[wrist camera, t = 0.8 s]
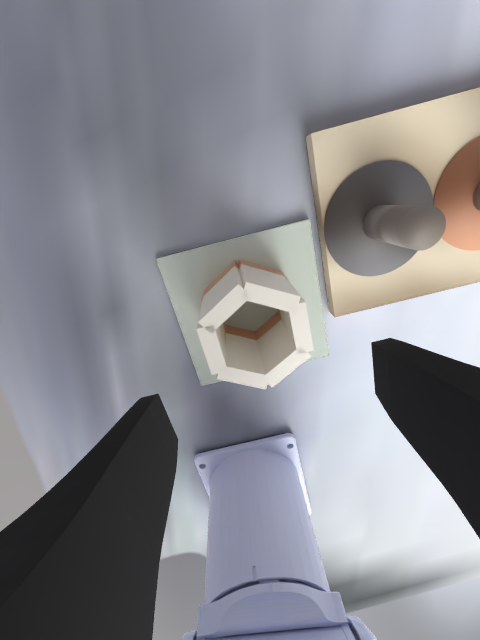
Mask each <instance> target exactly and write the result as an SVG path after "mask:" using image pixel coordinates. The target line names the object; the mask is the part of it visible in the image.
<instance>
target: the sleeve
mask: <svg viewBox="0 0 480 640" xmlns="http://www.w3.org/2000/svg"><path fill="white" fill-rule="evenodd" d="M246 301H249V302H253V303H257V304H261V305H265V306H269V307H273V308H276V309H277V313H276V314H274V315H273V316H272V317H271V318H270V319H269V320H268V321H267V322H265V323H264V324H263V325H262V326H261V327H260V328H259V329H257V330H256V331H255V332H254V331H250V330H246V329H242V328H238V327H233V326H229V325H226V324H225V321H226V320H227V319H228V318H229V317H230V316H231V315H232V314H233V313H234V312H235V311H236V310H237V309H239V308H240V307H241V306H242V305H243V304H244V303H245V302H246ZM201 302H202V304H201V309H200V314H199V318H198V323H197V328H196V330H197V333H198V336H199V339H200V342H201V345H202V348H203V351H204V354H205V357H206V360H207V363H208V366H209V368H210V371H211V374H212V375H214V374H217V379H218V380H223V381H228V382H233V383H237V384H242V385H247V386H251V387H256V388H261V389H265V390H266V387H267V384H268V385H269V386H270V387H272V388H273V387H274V386H275V385H276V384H278V383H279V382H280V381H281V380H283V379H284V378H285V377H286V376H288V375H289V374H290V373H291V372H293V371H294V370H295V369H296V368H298V367H299V366H300V365H301V364H302V363H304V362H305V361H306V360H307V359H309V358H310V357H311V355H310V353H309V351H313V350H314V348H313V342H312V336H311V330H310V324H309V318H308V312H307V306H306V302H305V300H304V299H303V298H302V297H301V295H300V294H299V293H298V292H297V290H296V289H295V288H294V287H293V286H292V284H291V283H290V282H289V281H288V279H287V277H286V276H285V275H284V274H283V273H282V272H281V271H280V270H276V269H273V268H269V267H266V266H262V265H258V264H255V263H251V262H248V261H244V260H241V259H240V260H239V263H238V264H237V263H236V262H235V261H233V262H232V263H231V264H230V265H229V266H228V267H227V268H226V269H225V270H224V271H223V272H222V273H221V274H220V275H219V276H218V277H217V278H216V279H215V280H214V281H213V282H212V283H211V284H210V285H209V286H208V287H207V288H206V289H205V290H204V293H203V297H202V301H201Z"/></svg>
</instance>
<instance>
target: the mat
mask: <svg viewBox="0 0 480 640" xmlns="http://www.w3.org/2000/svg"><path fill="white" fill-rule="evenodd" d="M240 259H241V260H244V261H248V262H251V263H255V264H258V265H262V266H266V267H269V268H273V269H276V270H280V271H281V272H282V273H283V274H284V275H285V276H286V277H287V279H288V281H289V282H290V283H291V284H292V286H293V287H294V288H295V289H296V290H297V292H298V293H299V294H300V295H301V297H302V298H303V299H304V300H305V302H306V306H307V312H308V318H309V324H310V330H311V336H312V342H313V348H314V350H313V351H309V353H310V355H311V357H310V358H309V359H307V360H306V361H309V360H313V359H317V358H321V357H325V356H329V349H328V342H327V335H326V328H325V321H324V314H323V307H322V300H321V293H320V286H319V280H318V273H317V266H316V259H315V252H314V245H313V238H312V231H311V224H310V219H305V220H302V221H298V222H294V223H290V224H286V225H282V226H279V227H275V228H271V229H267V230H263V231H259V232H256V233H252V234H248V235H244V236H240V237H236V238H233V239H229V240H225V241H221V242H217V243H213V244H210V245H206V246H202V247H198V248H194V249H190V250H187V251H183V252H179V253H175V254H171V255H167V256H164V257H160V258H157V259H156V261H157V264H158V267H159V270H160V273H161V275H162V278H163V281H164V284H165V287H166V289H167V292H168V295H169V298H170V300H171V303H172V306H173V309H174V312H175V314H176V317H177V320H178V323H179V326H180V328H181V331H182V334H183V337H184V340H185V342H186V345H187V348H188V351H189V353H190V356H191V359H192V362H193V365H194V367H195V370H196V373H197V376H198V379H199V381H200V384H201V386H204V385H209V384H213V383H217V382H221V381H223V380H218V379H217V374H214V375H212V374H211V371H210V368H209V366H208V363H207V360H206V357H205V354H204V351H203V348H202V345H201V342H200V339H199V336H198V333H197V330H196V328H197V323H198V318H199V314H200V309H201V304H202V302H201V301H202V297H203V293H204V290H205V289H206V288H207V287H208V286H209V285H210V284H211V283H212V282H213V281H214V280H215V279H216V278H217V277H218V276H219V275H220V274H221V273H222V272H223V271H224V270H225V269H226V268H227V267H228V266H229V265H230V264H231V263H232V262H233V261H235V262H236V263H237V264H238V263H239V260H240ZM276 313H277V309H276V308H273V307H269V306H265V305H261V304H257V303H253V302H249V301H246V302H245V303H244V304H243V305H242V306H241V307H240V308H239V309H237V310H236V311H235V312H234V313H233V314H232V315H231V316H230V317H229V318H228V319H227V320H226V321H225V324H226V325H229V326H233V327H238V328H242V329H246V330H250V331H254V332H255V331H256V330H257V329H259V328H260V327H261V326H262V325H263V324H264V323H265V322H267V321H268V320H269V319H270V318H271V317H272V316H273V315H274V314H276Z"/></svg>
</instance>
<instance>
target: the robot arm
mask: <svg viewBox="0 0 480 640" xmlns="http://www.w3.org/2000/svg"><path fill="white" fill-rule="evenodd" d="M372 356H373V369H374V382H375V393H376V395H377V397H378V399H379V400H380V402H381V404H382V405H383V407H384V409H385V410H386V412H387V414H388V415H389V417H390V418H391V420H392V421H393V423H394V424H395V425H396V426H397V428H398V429H399V430H400V432H401V433H402V434H403V435H404V437H405V438H406V439H407V440H408V442H409V443H410V444H411V445H412V447H413V448H414V449H415V451H416V452H417V453H418V454H419V456H420V457H421V458H422V459H423V461H424V462H425V463H426V464H427V466H428V467H429V468H430V469H431V471H432V472H433V473H434V474H435V476H436V477H437V478H438V479H439V481H440V482H441V483H442V484H443V486H444V487H445V488H446V490H447V491H448V493H449V494H450V495H451V497H452V498H453V499H454V501H455V502H456V504H457V505H458V507H459V508H460V510H461V511H462V513H463V514H464V516H465V517H466V519H467V520H468V522H469V523H470V525H471V526H472V528H473V529H474V531H475V532H476V534H477V535H478V537H479V538H480V368H479V367H476V366H472V365H469V364H466V363H463V362H460V361H457V360H454V359H451V358H448V357H445V356H442V355H440V354H437V353H434V352H431V351H428V350H425V349H422V348H420V347H417V346H414V345H411V344H408V343H405V342H402V341H399V340H396V339H392V338H388V339H384V340H380V341H376V342H372ZM288 444H290V445H288ZM177 450H178V438H177V436H176V433H175V431H174V429H173V426H172V424H171V422H170V420H169V417H168V415H167V413H166V410H165V408H164V406H163V403H162V401H161V399H160V396H159V394H155V395H151V396H147V397H143V398H140V399H139V400H138V401H137V402H136V403H135V404H134V405H133V406H132V407H131V408H130V409H129V410H128V411H127V412H126V413H125V414H124V416H123V417H122V418H121V419H120V420H119V421H118V422H117V423H116V424H115V425H114V426H113V427H112V429H111V430H110V431H109V432H108V433H107V434H106V435H105V436H104V437H103V438H102V439H101V440H100V441H99V442H98V444H97V445H96V446H95V447H94V448H93V449H92V450H91V451H90V452H89V453H88V454H87V455H86V456H85V457H84V458H83V459H82V460H81V461H80V462H79V463H78V464H77V465H76V466H75V467H74V468H73V469H72V470H71V471H70V472H69V473H68V474H67V475H66V476H65V477H64V478H63V479H61V480H60V481H59V482H58V483H57V484H56V485H55V486H54V487H53V488H52V489H51V490H50V491H48V492H47V493H46V494H45V495H44V496H43V497H42V498H40V499H39V500H38V501H37V502H36V503H35V504H34V505H33V506H31V507H30V508H29V509H28V510H27V511H26V512H25V513H23V514H22V515H21V516H20V517H18V518H17V519H16V520H15V521H13V522H12V523H11V524H10V525H8V526H7V527H6V528H5V529H3V530H2V531H1V532H0V640H152V633H153V622H154V610H155V599H156V590H157V580H158V570H159V561H160V555H161V548H162V542H163V537H164V532H165V527H166V521H167V516H168V511H169V506H170V501H171V495H172V490H173V485H174V479H175V473H176V466H177ZM194 463H195V466H196V468H197V470H198V473H199V475H200V477H201V480H202V482H203V485H204V487H205V489H206V492H207V494H208V496H209V520H208V542H207V565H206V587H205V604H201V605H200V606H199V609H198V626H197V631H189V632H186V633H185V634H184V635H183V637H182V640H377V638H376V637H375V635H374V634H373V633H372V632H371V631H370V630H369V629H368V628H367V627H366V625H365V624H364V623H363V621H362V620H361V619H360V618H358V617H357V616H346V613H345V610H344V606H343V603H342V599H341V596H340V593H339V592H330V588H329V585H328V581H327V577H326V574H325V570H324V567H323V563H322V559H321V556H320V552H319V548H318V545H317V541H316V537H315V534H314V530H313V526H312V523H311V519H310V514H311V512H312V511H311V507H310V502H309V498H308V493H307V489H306V485H305V480H304V476H303V471H302V467H301V462H300V458H299V454H298V449H297V445H296V440H295V437H294V435H293V434H291V433H286V434H281V435H277V436H273V437H268V438H264V439H260V440H255V441H251V442H247V443H242V444H238V445H234V446H229V447H225V448H221V449H216V450H212V451H207V452H203V453H199V454H197V455H195V457H194Z"/></svg>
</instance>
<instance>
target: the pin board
mask: <svg viewBox="0 0 480 640" xmlns="http://www.w3.org/2000/svg"><path fill="white" fill-rule="evenodd" d="M306 143H307V150H308V157H309V165H310V172H311V180H312V187H313V194H314V202H315V209H316V217H317V224H318V232H319V239H320V246H321V254H322V261H323V269H324V276H325V283H326V291H327V298H328V306H329V312H330V313H331V314H332V315H333V316H334V317H338V316H342V315H346V314H350V313H354V312H358V311H362V310H366V309H371V308H375V307H379V306H383V305H387V304H391V303H395V302H399V301H403V300H407V299H411V298H415V297H419V296H424V295H428V294H432V293H436V292H440V291H444V290H448V289H452V288H456V287H460V286H464V285H468V284H472V283H477V282H480V87H479V88H475V89H471V90H468V91H464V92H460V93H457V94H453V95H450V96H446V97H442V98H439V99H435V100H431V101H428V102H424V103H420V104H417V105H413V106H409V107H406V108H402V109H398V110H395V111H391V112H387V113H384V114H380V115H376V116H373V117H369V118H365V119H362V120H358V121H354V122H351V123H347V124H343V125H340V126H336V127H332V128H329V129H325V130H321V131H318V132H314V133H311V134H310V135H308V136H307V137H306Z"/></svg>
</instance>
